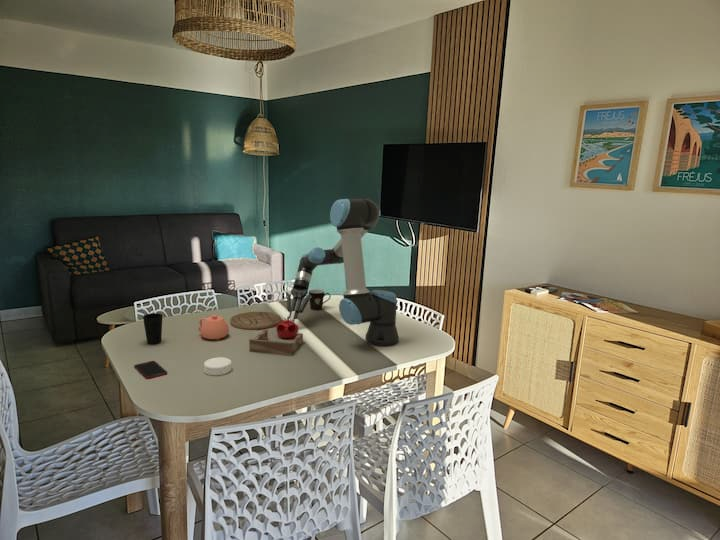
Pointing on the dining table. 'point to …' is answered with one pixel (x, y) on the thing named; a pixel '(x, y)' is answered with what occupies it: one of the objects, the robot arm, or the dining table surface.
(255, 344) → the walnut pocket
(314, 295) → the coffee mug
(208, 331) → the sugar bowl
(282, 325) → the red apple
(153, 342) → the cup
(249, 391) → the dining table surface
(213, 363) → the white round disc
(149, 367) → the cell phone
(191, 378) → the dining table surface
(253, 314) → the trivet
